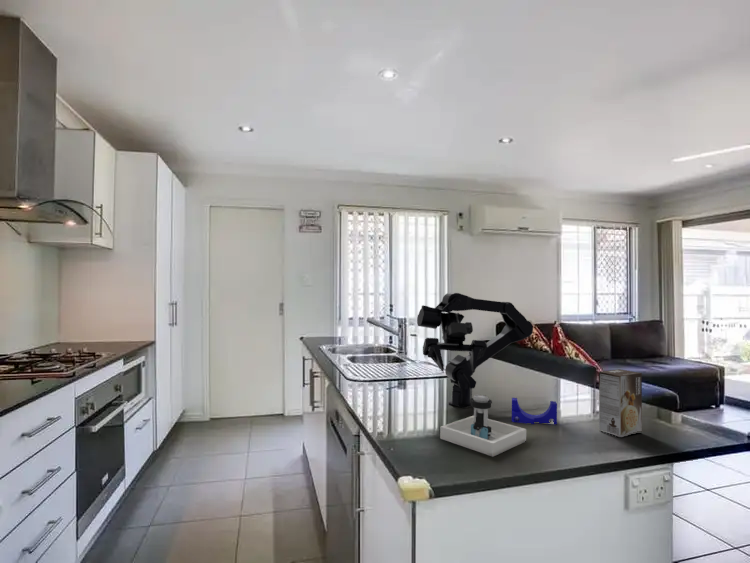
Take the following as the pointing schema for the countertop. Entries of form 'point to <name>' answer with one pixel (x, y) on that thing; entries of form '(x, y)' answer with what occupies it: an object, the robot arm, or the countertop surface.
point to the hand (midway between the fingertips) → (458, 371)
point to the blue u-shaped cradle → (524, 417)
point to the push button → (481, 417)
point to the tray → (503, 436)
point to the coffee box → (620, 401)
